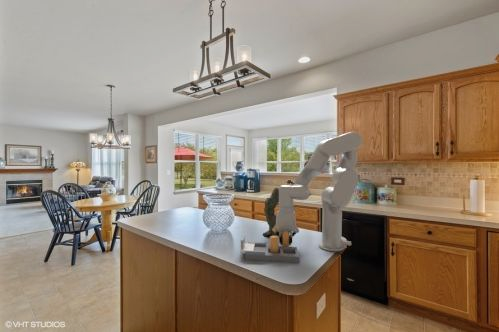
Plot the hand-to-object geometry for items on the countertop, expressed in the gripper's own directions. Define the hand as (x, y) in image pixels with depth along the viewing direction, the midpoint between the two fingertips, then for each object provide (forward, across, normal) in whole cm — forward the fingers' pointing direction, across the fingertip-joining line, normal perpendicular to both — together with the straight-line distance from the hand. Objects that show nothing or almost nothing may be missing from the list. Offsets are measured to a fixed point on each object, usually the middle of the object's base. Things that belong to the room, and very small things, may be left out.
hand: (285, 243), depth 121 cm
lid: (-1, +19, +12) cm, 22 cm away
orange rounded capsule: (+2, +6, +12) cm, 14 cm away
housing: (+2, +7, +12) cm, 14 cm away
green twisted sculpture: (+2, +6, -19) cm, 20 cm away
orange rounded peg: (+2, 0, 0) cm, 2 cm away
